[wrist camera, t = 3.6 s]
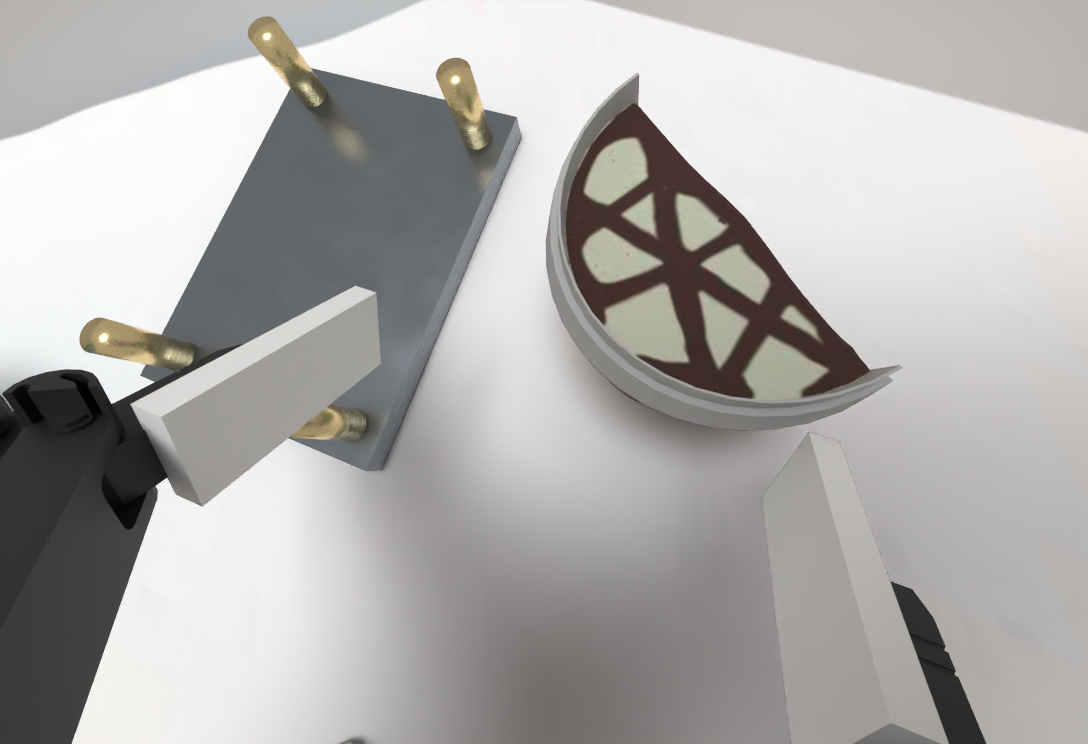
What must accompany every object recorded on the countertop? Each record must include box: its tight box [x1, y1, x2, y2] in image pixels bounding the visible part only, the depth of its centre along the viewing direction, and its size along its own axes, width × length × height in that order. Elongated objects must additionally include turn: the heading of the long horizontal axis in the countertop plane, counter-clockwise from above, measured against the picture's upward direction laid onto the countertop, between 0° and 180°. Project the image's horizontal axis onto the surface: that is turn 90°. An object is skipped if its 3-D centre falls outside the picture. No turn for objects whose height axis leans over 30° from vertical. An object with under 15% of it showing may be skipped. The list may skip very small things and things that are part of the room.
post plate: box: [80, 17, 521, 471], centre depth 22 cm, size 14×20×6 cm
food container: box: [546, 73, 902, 431], centre depth 17 cm, size 12×6×10 cm, turn 33°
